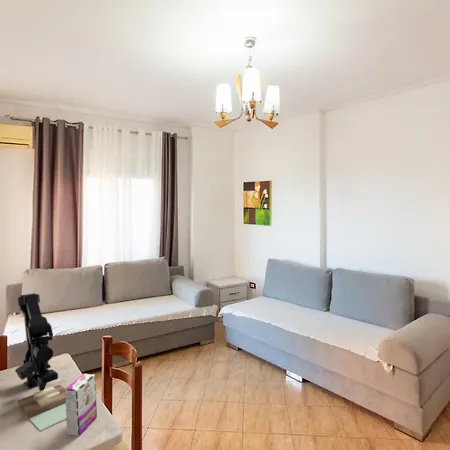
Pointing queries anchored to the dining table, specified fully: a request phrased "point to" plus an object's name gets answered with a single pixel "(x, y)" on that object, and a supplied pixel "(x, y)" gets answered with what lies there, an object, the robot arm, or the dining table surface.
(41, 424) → the sage mat
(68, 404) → the candy bar box
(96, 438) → the dining table surface
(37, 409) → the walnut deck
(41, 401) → the birch block
